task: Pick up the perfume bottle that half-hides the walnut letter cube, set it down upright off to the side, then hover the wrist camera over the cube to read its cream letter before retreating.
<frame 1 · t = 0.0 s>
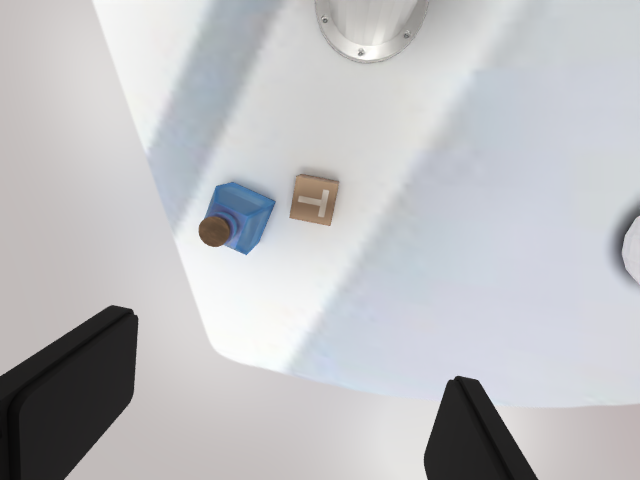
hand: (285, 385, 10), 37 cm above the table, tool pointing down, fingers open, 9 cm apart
perfume bottle: (246, 212, 47), on the table
letter cube: (316, 196, 46), on the table
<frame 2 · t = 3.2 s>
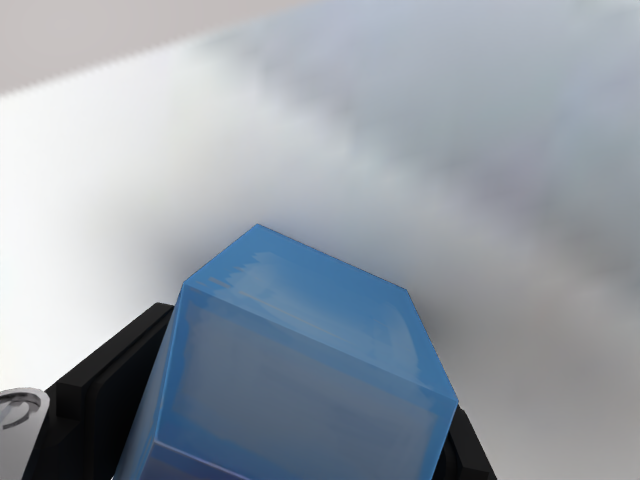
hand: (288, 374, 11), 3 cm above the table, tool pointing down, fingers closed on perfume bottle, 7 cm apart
perfume bottle: (301, 322, 14), on the table, touching gripper
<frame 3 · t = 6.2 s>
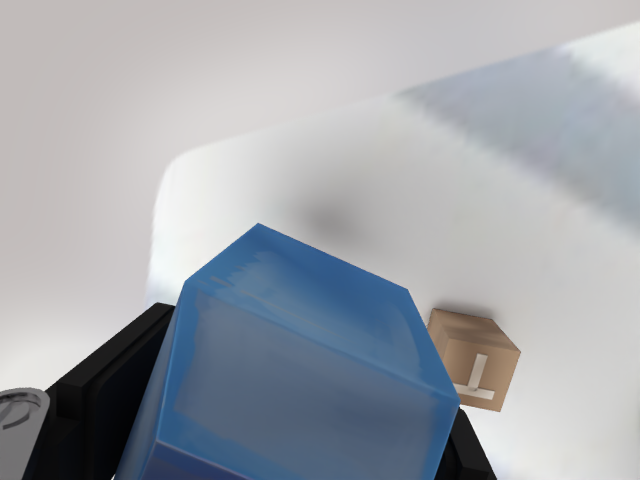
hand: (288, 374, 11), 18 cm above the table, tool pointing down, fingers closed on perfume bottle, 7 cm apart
perfume bottle: (302, 321, 14), point 15 cm above the table, touching gripper
letter cube: (454, 340, 30), on the table
when the fingers open (5 cm above the table, at t = 9.4 s): perfume bottle drops 1 cm, on the table.
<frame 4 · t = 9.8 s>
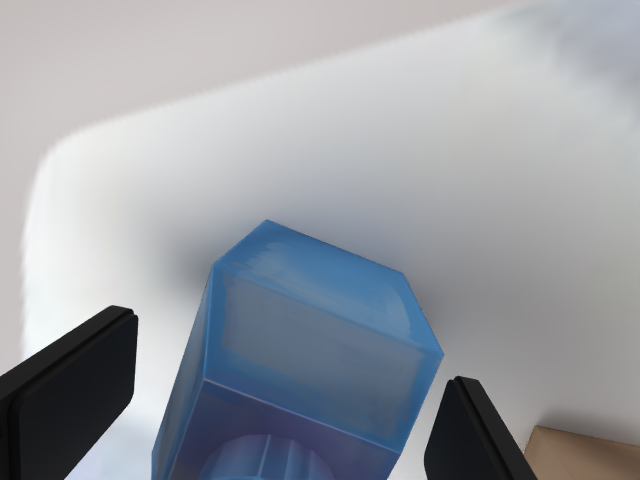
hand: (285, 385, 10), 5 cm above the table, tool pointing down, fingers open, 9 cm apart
perfume bottle: (309, 307, 16), on the table
letter cube: (568, 477, 17), on the table
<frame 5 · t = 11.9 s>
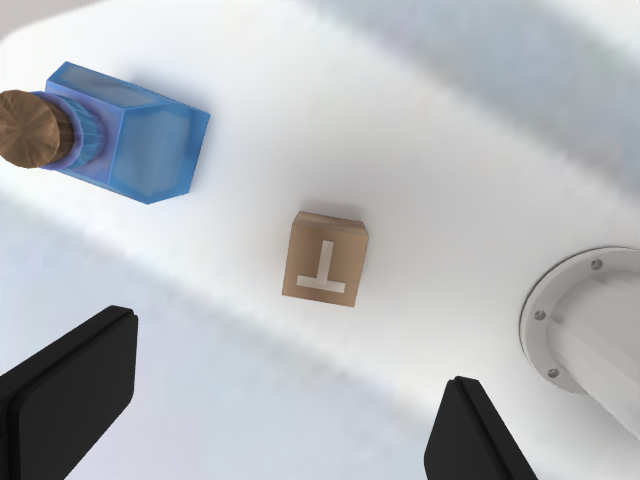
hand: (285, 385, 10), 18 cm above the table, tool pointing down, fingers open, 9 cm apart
perfume bottle: (161, 139, 26), on the table
letter cube: (325, 246, 28), on the table
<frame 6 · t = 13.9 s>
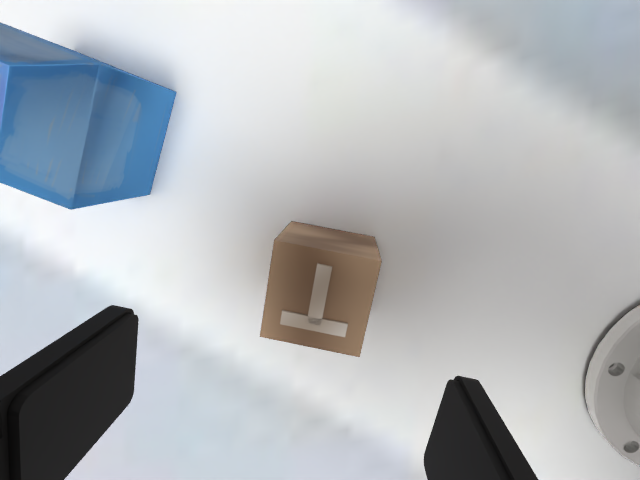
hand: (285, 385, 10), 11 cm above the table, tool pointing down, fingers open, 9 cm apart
perfume bottle: (115, 125, 21), on the table
letter cube: (325, 267, 21), on the table
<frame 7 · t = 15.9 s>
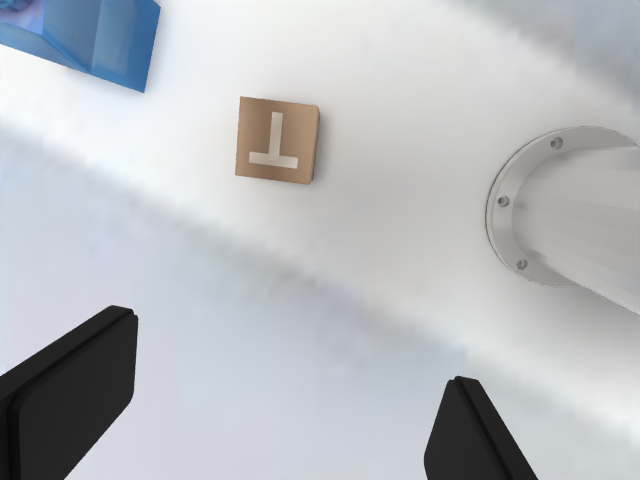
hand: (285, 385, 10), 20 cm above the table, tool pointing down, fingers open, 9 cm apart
perfume bottle: (113, 38, 26), on the table
letter cube: (285, 144, 28), on the table
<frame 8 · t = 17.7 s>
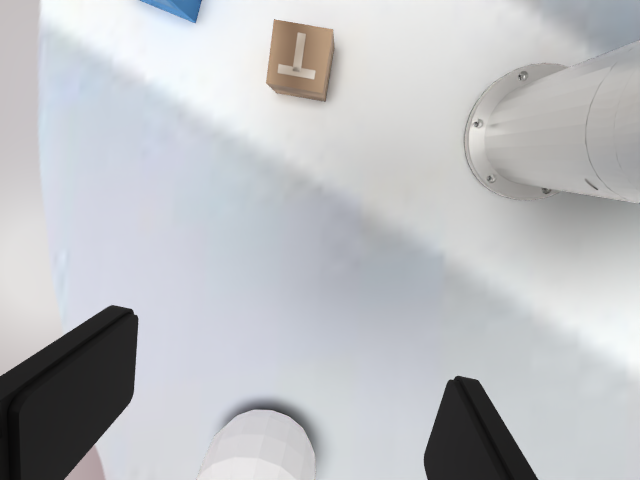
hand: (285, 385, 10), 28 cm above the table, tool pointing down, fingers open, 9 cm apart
white jar: (268, 436, 45), on the table
letter cube: (304, 70, 34), on the table
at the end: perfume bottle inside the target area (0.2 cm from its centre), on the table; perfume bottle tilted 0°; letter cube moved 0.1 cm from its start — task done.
